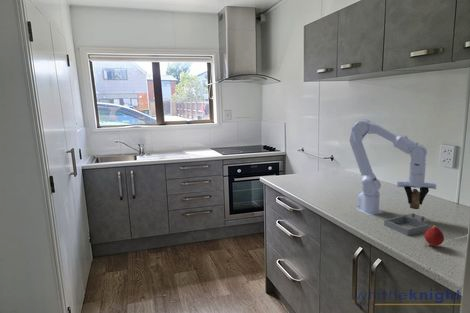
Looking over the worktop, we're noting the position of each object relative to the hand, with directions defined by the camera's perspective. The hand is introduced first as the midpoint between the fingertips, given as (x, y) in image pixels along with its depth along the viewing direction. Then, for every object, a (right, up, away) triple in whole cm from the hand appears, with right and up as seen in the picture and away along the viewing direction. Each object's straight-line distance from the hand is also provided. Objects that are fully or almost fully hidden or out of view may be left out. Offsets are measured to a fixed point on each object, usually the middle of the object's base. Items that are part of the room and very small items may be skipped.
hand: (414, 203), depth 134 cm
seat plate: (0, -7, +1) cm, 7 cm away
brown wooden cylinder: (0, -2, 0) cm, 2 cm away
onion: (-7, -12, -24) cm, 27 cm away
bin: (-9, -9, -8) cm, 15 cm away
